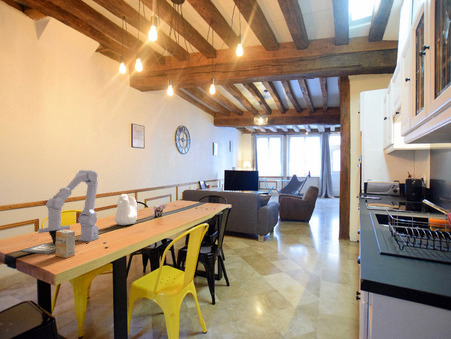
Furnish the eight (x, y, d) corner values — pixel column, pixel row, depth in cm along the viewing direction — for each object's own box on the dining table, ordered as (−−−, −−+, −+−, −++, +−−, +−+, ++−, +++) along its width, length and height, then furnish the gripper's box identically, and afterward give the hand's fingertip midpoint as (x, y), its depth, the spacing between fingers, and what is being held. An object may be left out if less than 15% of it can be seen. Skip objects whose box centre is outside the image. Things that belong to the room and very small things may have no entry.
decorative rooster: (125, 228, 182) (125, 195, 182) (109, 226, 188) (109, 194, 188) (147, 221, 205) (147, 192, 205) (132, 219, 211) (132, 191, 211)
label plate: (68, 247, 138) (68, 245, 138) (48, 254, 127) (48, 253, 127) (42, 244, 142) (42, 243, 142) (21, 251, 130) (21, 249, 130)
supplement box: (55, 256, 124) (55, 231, 124) (64, 253, 129) (64, 228, 129) (66, 258, 121) (66, 232, 121) (75, 255, 126) (75, 230, 126)
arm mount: (62, 243, 145) (62, 242, 145) (55, 245, 141) (55, 244, 140) (56, 242, 146) (56, 241, 146) (49, 245, 141) (49, 243, 141)
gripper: (68, 217, 142) (68, 239, 142) (37, 220, 132) (37, 244, 132) (70, 219, 137) (70, 242, 137) (38, 222, 127) (38, 248, 127)
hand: (54, 244), depth 134 cm, fingers closed
